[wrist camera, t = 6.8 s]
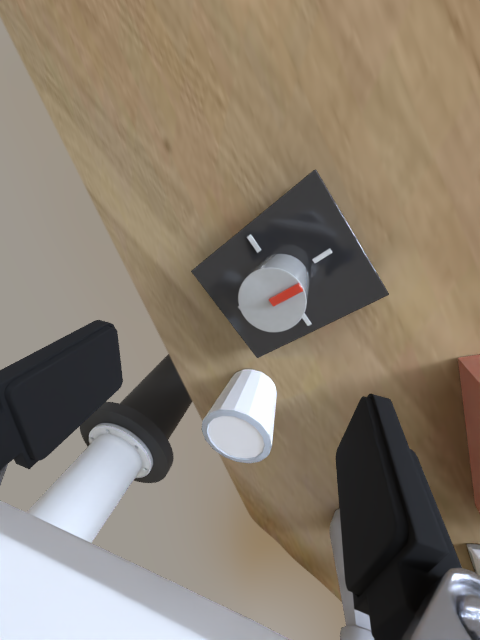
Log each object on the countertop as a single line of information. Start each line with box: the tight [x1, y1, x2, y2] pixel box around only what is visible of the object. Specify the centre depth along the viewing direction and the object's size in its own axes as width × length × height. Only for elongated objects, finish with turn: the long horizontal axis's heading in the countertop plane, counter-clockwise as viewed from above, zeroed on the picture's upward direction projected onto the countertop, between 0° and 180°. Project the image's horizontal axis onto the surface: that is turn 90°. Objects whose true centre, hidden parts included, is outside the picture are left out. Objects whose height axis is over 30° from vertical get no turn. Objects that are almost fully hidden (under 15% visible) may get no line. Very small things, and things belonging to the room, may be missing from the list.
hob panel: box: [191, 169, 389, 358], centre depth 21 cm, size 12×10×3 cm
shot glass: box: [202, 369, 277, 463], centre depth 26 cm, size 7×7×7 cm
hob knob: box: [238, 254, 309, 332], centre depth 18 cm, size 4×4×5 cm
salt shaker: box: [330, 509, 374, 640], centre depth 28 cm, size 6×6×13 cm
